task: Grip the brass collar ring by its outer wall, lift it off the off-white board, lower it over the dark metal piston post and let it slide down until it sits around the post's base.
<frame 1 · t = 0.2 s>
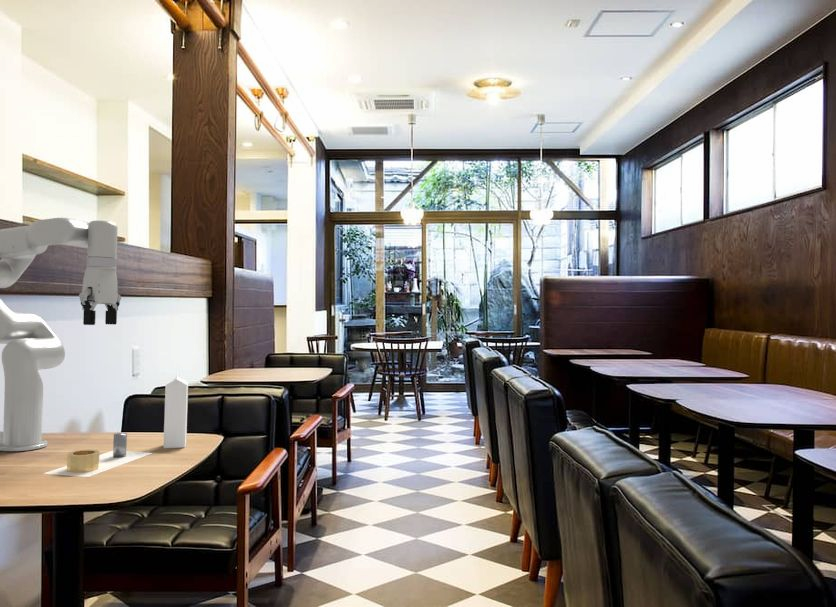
hand: (100, 324, 177), 36 cm above the table, tool pointing down, fingers open, 9 cm apart
piston: (119, 462, 167), resting on board
milk: (175, 446, 188), on the table
ring: (83, 469, 153), point 1 cm above the table, touching board
board: (101, 468, 160), on the table
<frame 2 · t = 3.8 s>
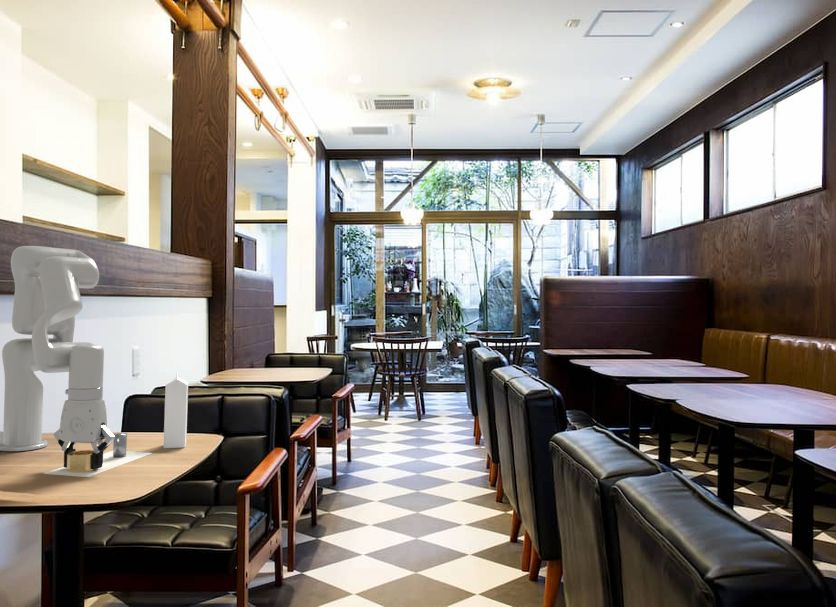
hand: (83, 466, 153), 2 cm above the table, tool pointing down, fingers closed on ring, 6 cm apart
ring: (83, 469, 153), point 1 cm above the table, touching board, gripper
everything else where it was.
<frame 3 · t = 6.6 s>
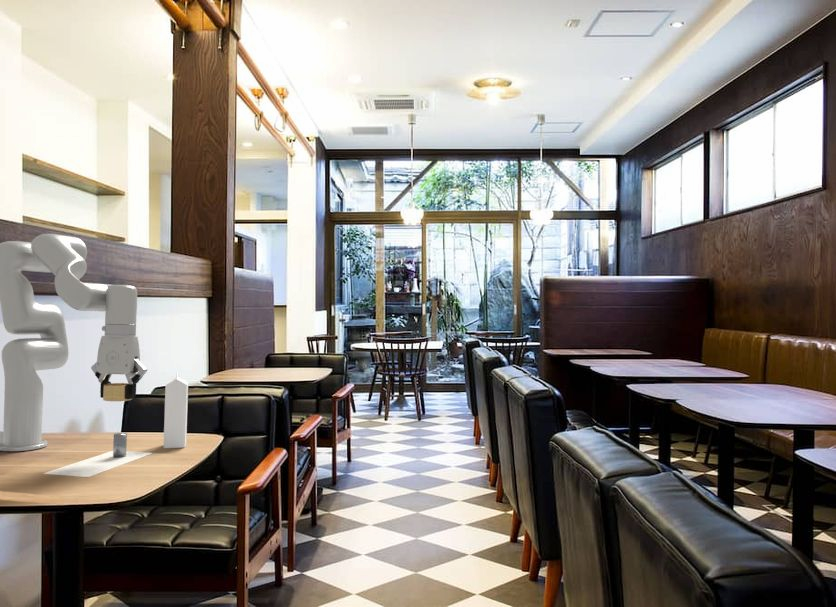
hand: (117, 397, 166), 17 cm above the table, tool pointing down, fingers closed on ring, 6 cm apart
ring: (117, 399, 166), point 17 cm above the table, touching gripper
everything else where it was.
when the fingers open (7 cm above the table, at t = 9.8 s): ring drops 5 cm, resting on board.
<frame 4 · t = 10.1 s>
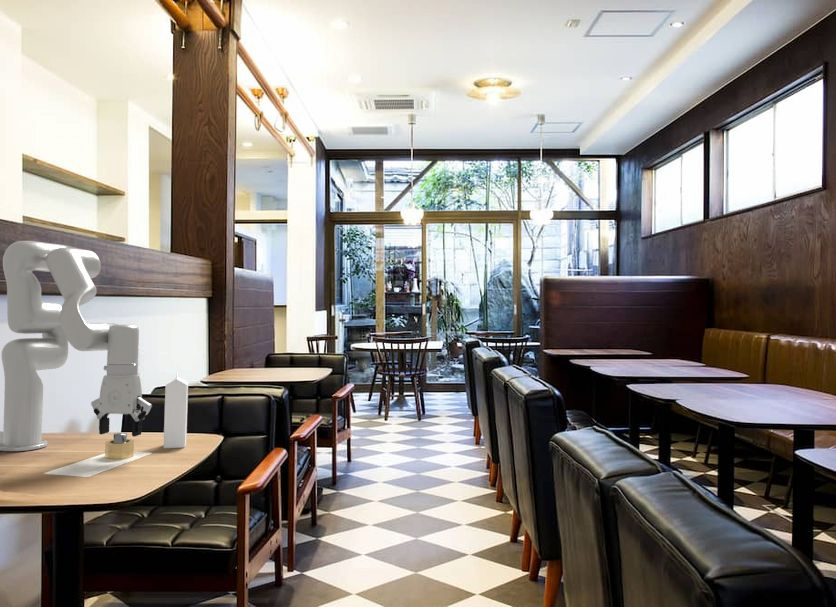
hand: (120, 434, 167), 7 cm above the table, tool pointing down, fingers open, 9 cm apart
ring: (119, 456, 167), point 1 cm above the table, touching board
everything else where it was.
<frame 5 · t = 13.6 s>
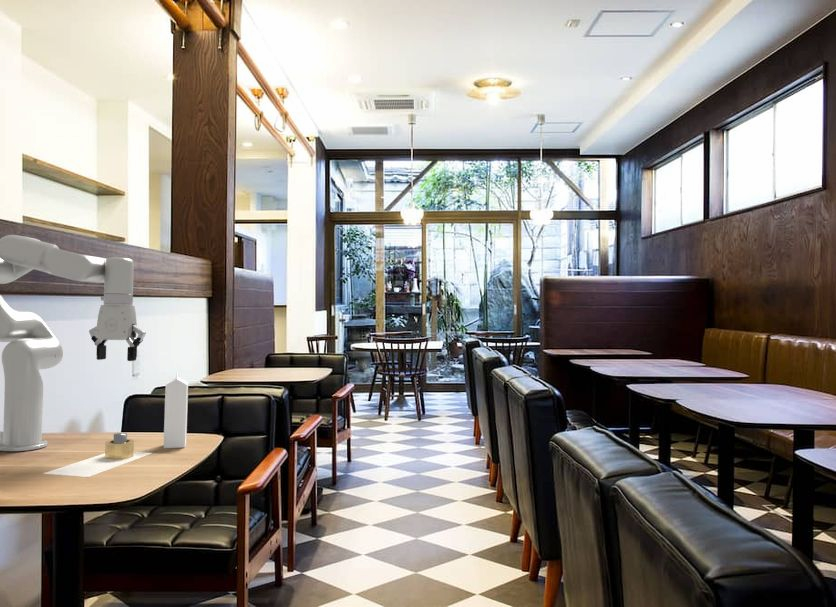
hand: (116, 360, 179), 26 cm above the table, tool pointing down, fingers open, 9 cm apart
nothing on the table moved.
at the end: ring 0.1 cm off-centre on the piston, point 1.5 cm above the piston's base; ring tilted 0°; the gripper is holding nothing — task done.
